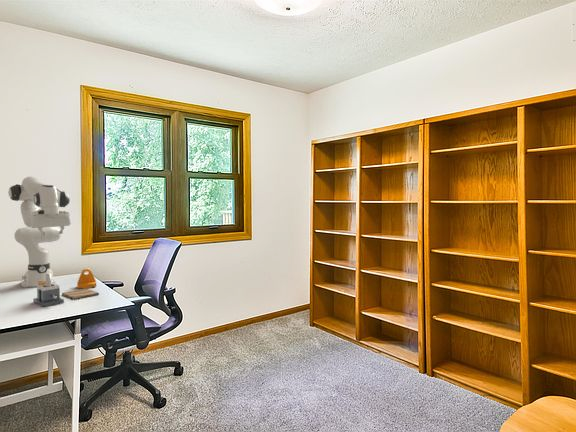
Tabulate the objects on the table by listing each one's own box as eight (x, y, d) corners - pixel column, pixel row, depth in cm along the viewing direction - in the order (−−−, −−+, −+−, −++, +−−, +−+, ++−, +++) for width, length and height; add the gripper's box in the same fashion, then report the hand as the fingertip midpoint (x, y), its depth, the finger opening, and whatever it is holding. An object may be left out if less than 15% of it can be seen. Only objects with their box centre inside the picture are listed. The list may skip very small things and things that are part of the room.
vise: (33, 302, 197) (32, 273, 196) (53, 298, 205) (53, 271, 204) (45, 308, 187) (44, 278, 186) (66, 303, 195) (65, 275, 194)
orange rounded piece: (77, 289, 226) (77, 270, 225) (77, 286, 232) (77, 268, 232) (96, 287, 232) (96, 269, 231) (95, 285, 238) (95, 267, 237)
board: (62, 295, 212) (62, 293, 212) (86, 290, 223) (86, 288, 223) (73, 299, 203) (73, 297, 203) (98, 294, 214) (98, 292, 214)
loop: (32, 286, 200) (32, 282, 200) (48, 284, 206) (48, 279, 206) (42, 291, 191) (42, 286, 191) (59, 288, 197) (59, 283, 197)
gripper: (66, 211, 222) (68, 233, 222) (28, 212, 205) (30, 236, 205) (71, 210, 218) (73, 232, 218) (32, 211, 202) (34, 235, 202)
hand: (52, 234), depth 212 cm, fingers open, 8 cm apart
